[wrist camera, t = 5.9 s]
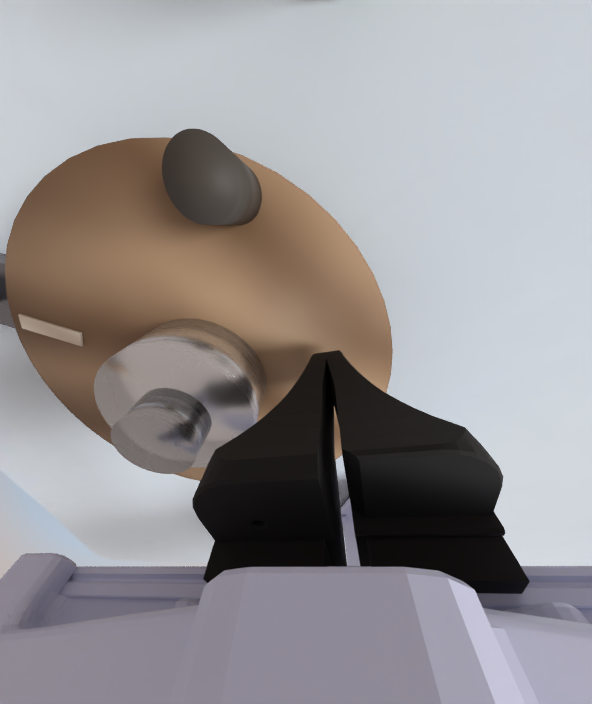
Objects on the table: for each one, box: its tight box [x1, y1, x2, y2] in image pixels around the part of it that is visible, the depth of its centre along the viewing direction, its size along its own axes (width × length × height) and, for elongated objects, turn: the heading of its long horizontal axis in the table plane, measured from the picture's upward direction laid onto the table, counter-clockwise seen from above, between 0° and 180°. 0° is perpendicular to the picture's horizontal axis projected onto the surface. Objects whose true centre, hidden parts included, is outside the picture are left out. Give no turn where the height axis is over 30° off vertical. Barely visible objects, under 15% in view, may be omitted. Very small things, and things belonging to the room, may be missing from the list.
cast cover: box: [94, 318, 266, 474], centre depth 11 cm, size 7×7×5 cm
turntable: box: [5, 129, 392, 481], centre depth 12 cm, size 20×20×4 cm
